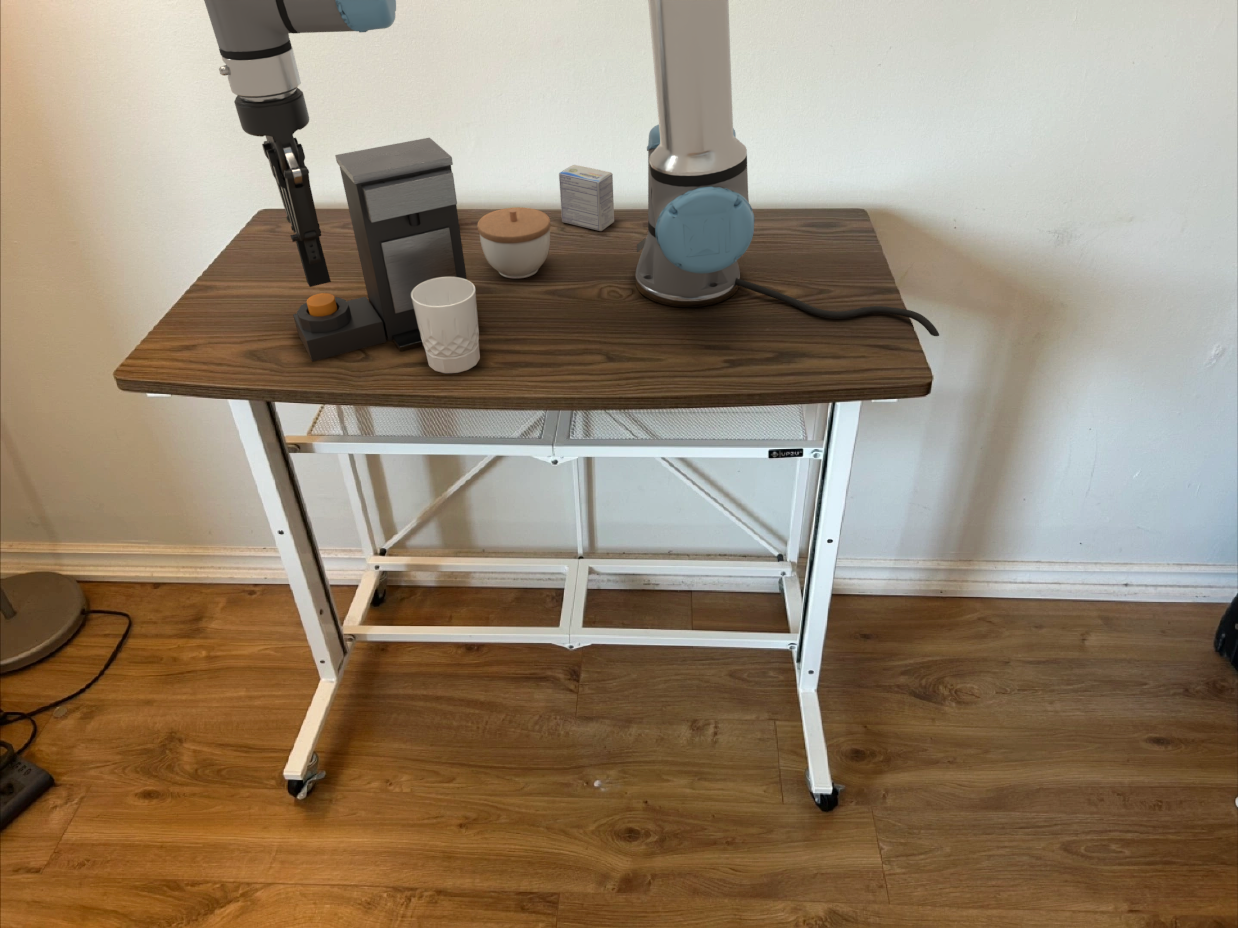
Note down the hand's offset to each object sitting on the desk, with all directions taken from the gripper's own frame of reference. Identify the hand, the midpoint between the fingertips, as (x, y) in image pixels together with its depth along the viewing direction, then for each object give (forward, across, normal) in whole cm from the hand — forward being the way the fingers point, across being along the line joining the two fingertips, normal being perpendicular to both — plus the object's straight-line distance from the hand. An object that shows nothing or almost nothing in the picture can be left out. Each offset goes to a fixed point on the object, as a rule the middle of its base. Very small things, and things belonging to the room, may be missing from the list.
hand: (318, 281), depth 115 cm
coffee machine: (+9, +1, +12) cm, 15 cm away
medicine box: (+10, -17, +47) cm, 51 cm away
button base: (+9, 0, +1) cm, 9 cm away
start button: (+4, 0, 0) cm, 4 cm away
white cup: (+9, +13, +12) cm, 20 cm away
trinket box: (+9, -7, +30) cm, 32 cm away
